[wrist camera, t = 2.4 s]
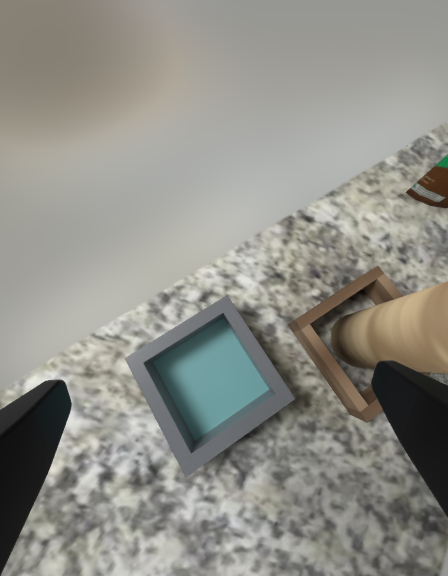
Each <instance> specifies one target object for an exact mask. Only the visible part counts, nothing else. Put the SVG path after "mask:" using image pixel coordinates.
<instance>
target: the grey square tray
mask: <svg viewBox="0 0 448 576" xmlns="http://www.w3.org/2000/svg"><path fill="white" fill-rule="evenodd" d="M125 360H126V362H127V364H128V366H129V368H130V370H131V372H132V374H133V375H134V377H135V379H136V381H137V383H138V385H139V387H140V389H141V391H142V393H143V395H144V397H145V399H146V401H147V403H148V405H149V407H150V409H151V411H152V413H153V414H154V416H155V418H156V420H157V422H158V424H159V426H160V428H161V430H162V432H163V434H164V436H165V438H166V440H167V442H168V444H169V446H170V448H171V450H172V451H173V453H174V455H175V457H176V459H177V461H178V463H179V465H180V467H181V469H182V471H183V473H184V475H185V477H187V476H189V475H190V474H192V473H193V472H194V471H196V470H197V469H199V468H200V467H201V466H203V465H204V464H205V463H207V462H208V461H210V460H211V459H212V458H214V457H215V456H217V455H218V454H219V453H221V452H222V451H224V450H225V449H226V448H228V447H229V446H230V445H232V444H233V443H235V442H236V441H237V440H239V439H240V438H242V437H243V436H244V435H246V434H247V433H249V432H250V431H251V430H253V429H254V428H256V427H257V426H258V425H260V424H261V423H262V422H264V421H265V420H267V419H268V418H269V417H271V416H272V415H274V414H275V413H276V412H278V411H279V410H281V409H282V408H283V407H285V406H286V405H288V404H289V403H290V402H292V401H293V400H294V399H295V398H294V396H293V395H292V393H291V392H290V390H289V389H288V387H287V386H286V384H285V383H284V381H283V380H282V378H281V376H280V375H279V373H278V372H277V370H276V369H275V367H274V366H273V364H272V363H271V361H270V360H269V358H268V357H267V355H266V354H265V352H264V351H263V349H262V347H261V346H260V344H259V343H258V341H257V340H256V338H255V337H254V335H253V334H252V332H251V331H250V329H249V328H248V326H247V325H246V323H245V321H244V320H243V318H242V317H241V315H240V314H239V312H238V311H237V309H236V308H235V306H234V305H233V303H232V302H231V300H230V299H229V297H228V296H225V297H223V298H222V299H220V300H219V301H217V302H215V303H214V304H212V305H211V306H209V307H207V308H206V309H204V310H202V311H201V312H199V313H198V314H196V315H194V316H193V317H191V318H189V319H188V320H186V321H185V322H183V323H181V324H180V325H178V326H177V327H175V328H173V329H172V330H170V331H168V332H167V333H165V334H164V335H162V336H160V337H159V338H157V339H155V340H154V341H152V342H151V343H149V344H147V345H146V346H144V347H142V348H141V349H139V350H138V351H136V352H134V353H133V354H131V355H130V356H128V357H126V358H125Z"/></svg>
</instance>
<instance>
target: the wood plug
mask: <svg viewBox="0 0 448 576" xmlns="http://www.w3.org/2000/svg"><path fill="white" fill-rule="evenodd" d="M331 344H332V347H333V349H334V351H335V353H336V354H337V356H338V357H339V358H340V359H341V360H342V361H344V362H345V363H347V364H349V365H351V366H355V367H365V368H375V367H376V364H377V363H378V362H379V361H383V360H394V361H396V362H398V363H400V364H403V365H405V366H407V367H409V368H411V369H413V370H415V371H418V372H429V373H442V374H448V282H445V283H442V284H439V285H436V286H433V287H430V288H427V289H424V290H421V291H418V292H415V293H412V294H409V295H406V296H403V297H400V298H397V299H394V300H391V301H388V302H385V303H382V304H379V305H376V306H373V307H370V308H367V309H364V310H361V311H358V312H355V313H352V314H349V315H346V316H343V317H342V318H340V319H339V320H338V321H337V322H336V323H335V324H334V326H333V328H332V331H331Z"/></svg>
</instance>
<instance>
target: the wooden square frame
mask: <svg viewBox="0 0 448 576" xmlns="http://www.w3.org/2000/svg"><path fill="white" fill-rule="evenodd" d="M362 288H363V290H364V291H365V292H366V293H367V295H368V296H369V297H370V298H371V299H372V301H373V302H374V303H375V304H376V305H379V304H382V303H385V302H388V301H391V300H394V299H397V298H400V297H403V295H402V294H401V293H400V292H399V290H398V289H397V288H396V287H395V286H394V285H393V283H392V282H391V281H390V280H389V279H388V277H387V276H386V275H385V274H384V273H383V271H382V270H381V269H380V268H379V267H378V266H377V267H375V268H374V269H372V270H370V271H369V272H367V273H365V274H363V275H362V276H360V277H359V278H357V279H356V280H354V281H353V282H351V283H350V284H348V285H347V286H345V287H344V288H342V289H341V290H339V291H338V292H336V293H335V294H333V295H332V296H330V297H329V298H327V299H326V300H324V301H323V302H321V303H320V304H318V305H317V306H315V307H314V308H312V309H311V310H309V311H308V312H306V313H305V314H303V315H302V316H300V317H299V318H297V319H296V320H294V321H293V322H291V323H290V324H288V326H289V327H290V329H291V330H292V332H293V333H294V335H295V336H296V337H297V339H298V340H299V342H300V343H301V345H302V346H303V348H304V349H305V350H306V352H307V353H308V355H309V356H310V358H311V359H312V360H313V362H314V363H315V365H316V366H317V368H318V369H319V370H320V372H321V373H322V375H323V376H324V378H325V379H326V381H327V382H328V383H329V385H330V386H331V388H332V389H333V391H334V392H335V393H336V395H337V396H338V398H339V399H340V401H341V402H342V403H343V405H344V406H345V408H346V409H347V411H348V412H349V414H350V415H352V416H354V417H357V418H359V419H361V420H363V421H365V422H368V421H370V420H371V419H372V418H374V417H375V416H376V415H377V414H379V413H380V412H381V411H383V409H382V407H381V405H380V403H379V401H378V399H377V398H376V396H375V394H374V392H373V389H372V385H371V386H369V387H368V388H367V389H365V390H364V391H363V392H361V393H359V392H358V391H357V389H356V388H355V386H354V385H353V384H352V382H351V381H350V379H349V378H348V377H347V375H346V374H345V372H344V371H343V370H342V368H341V367H340V366H339V364H338V363H337V361H336V360H335V359H334V357H333V356H332V354H331V353H330V352H329V350H328V349H327V347H326V346H325V345H324V343H323V342H322V341H321V339H320V338H319V336H318V335H317V334H316V332H315V331H314V329H313V328H312V327H311V325H310V323H312V322H313V321H315V320H316V319H318V318H319V317H321V316H322V315H324V314H325V313H327V312H328V311H330V310H331V309H333V308H334V307H336V306H337V305H339V304H340V303H342V302H343V301H345V300H346V299H348V298H349V297H351V296H352V295H354V294H355V293H357V292H358V291H359V290H361V289H362ZM420 373H422V374H424V375H426V376H428V375H429V374H430V373H429V372H420Z"/></svg>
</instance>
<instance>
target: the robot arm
mask: <svg viewBox="0 0 448 576" xmlns="http://www.w3.org/2000/svg"><path fill="white" fill-rule="evenodd" d="M371 385H372V389H373V392H374V394H375V396H376V398H377V399H378V401H379V403H380V405H381V407H382V409H383V411H384V413H385V415H386V417H387V419H388V421H389V423H390V424H391V426H392V428H393V430H394V432H395V434H396V436H397V438H398V439H399V441H400V443H401V445H402V446H403V448H404V449H405V451H406V453H407V454H408V456H409V457H410V459H411V461H412V462H413V464H414V465H415V467H416V468H417V470H418V472H419V473H420V475H421V476H422V478H423V479H424V481H425V483H426V484H427V486H428V487H429V489H430V490H431V492H432V494H433V495H434V497H435V498H436V500H437V501H438V503H439V505H440V506H441V508H442V509H443V511H444V513H445V514H446V516H447V517H448V386H447V385H445V384H443V383H441V382H439V381H437V380H435V379H432V378H430V377H428V376H426V375H424V374H422V373H420V372H418V371H415V370H413V369H411V368H409V367H407V366H405V365H403V364H400V363H398V362H396V361H394V360H383V361H379V362H378V363H377V364H376V367H375V371H374V374H373V378H372V382H371ZM70 411H71V399H70V396H69V393H68V390H67V386H66V384H65V382H64V381H63V380H48V381H45V382H43V383H41V384H40V385H38V386H37V387H35V388H34V389H32V390H31V391H29V392H27V393H26V394H24V395H23V396H21V397H20V398H18V399H16V400H15V401H13V402H12V403H10V404H9V405H7V406H6V407H4V408H2V409H1V410H0V576H1V574H2V571H3V569H4V567H5V565H6V563H7V561H8V558H9V556H10V554H11V552H12V550H13V548H14V546H15V543H16V541H17V539H18V537H19V535H20V533H21V530H22V528H23V526H24V524H25V522H26V520H27V518H28V515H29V513H30V511H31V509H32V507H33V505H34V502H35V500H36V498H37V496H38V494H39V492H40V489H41V487H42V485H43V483H44V481H45V479H46V476H47V474H48V472H49V469H50V467H51V464H52V461H53V459H54V456H55V453H56V450H57V448H58V445H59V442H60V439H61V436H62V434H63V431H64V428H65V425H66V422H67V420H68V417H69V414H70Z"/></svg>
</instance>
